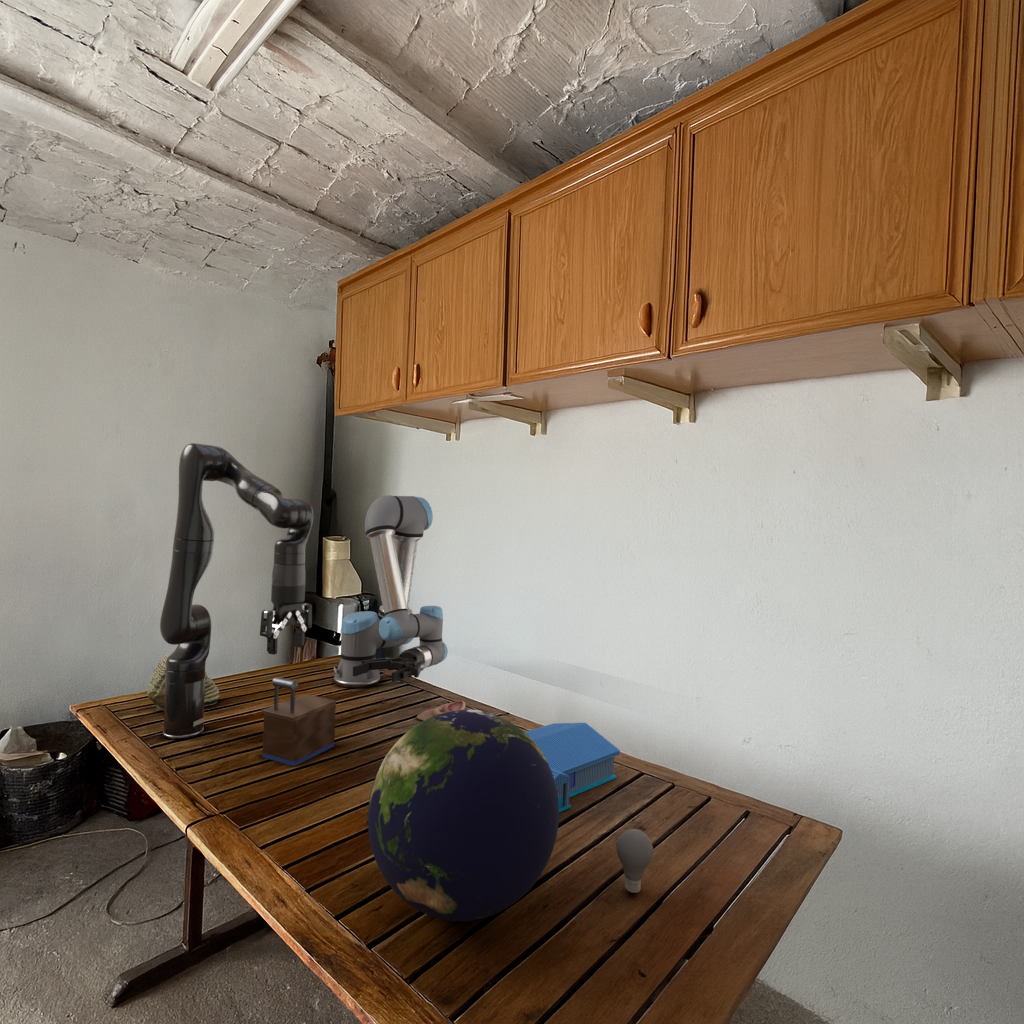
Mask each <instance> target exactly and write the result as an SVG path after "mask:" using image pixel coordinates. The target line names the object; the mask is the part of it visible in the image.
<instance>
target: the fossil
mask: <svg viewBox="0 0 1024 1024" xmlns="http://www.w3.org/2000/svg"><path fill="white" fill-rule="evenodd" d="M170 655H171V654H165V655H164V656H163V657H162V658H161V659H160V660H159V662H158V663H157V666H156V667H155V669H154V670H153V672H152V675H151V677H150V680H149V684H148V688H147V697H148V699H149V700H150V701H152V703H153V704H154V706H155V711H158V712H159V711H162V712H163V711H164V705H165V674H166V660H167V658H168V657H169V656H170ZM220 698H221V696H220V690H219V688H218V686H217V685H216V683H215V682H214V681H213V679H212V678H211V677H209V675H208V674H207V672H206V671H205V693H204V707H207V706H213V705H215V704H217V703H218V701H219V699H220Z"/></svg>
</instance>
